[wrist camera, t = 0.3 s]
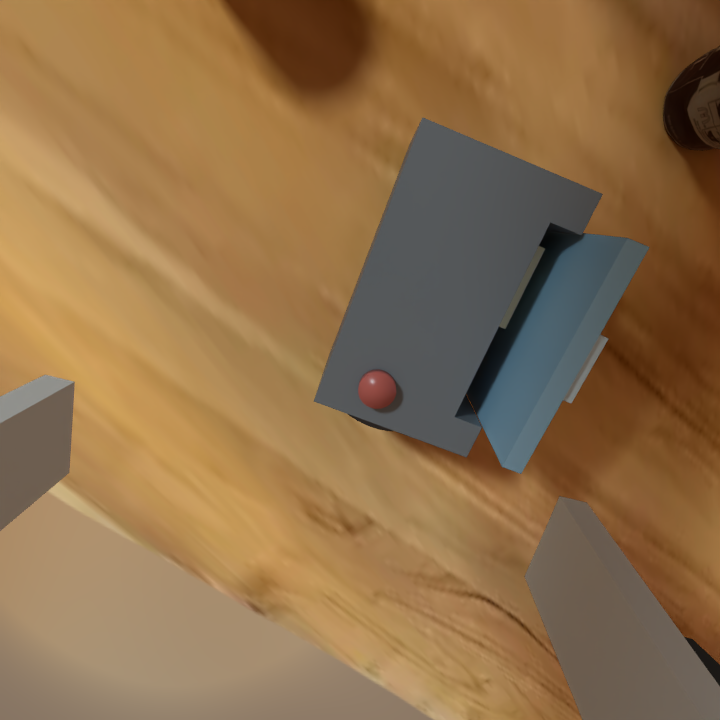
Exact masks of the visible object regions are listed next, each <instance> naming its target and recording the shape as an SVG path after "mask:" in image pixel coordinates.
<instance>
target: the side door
mask: <svg viewBox="0 0 720 720" xmlns="http://www.w3.org/2000/svg"><path fill="white" fill-rule="evenodd" d="M539 246H540V247H543V248H545V250H544V252H543V254H542V256H541V258H540V260H539V262H538V264H537V266H536V268H535V270H534V272H533V274H532V276H531V278H530V280H529V282H528V284H527V286H526V288H525V290H524V292H523V294H522V297H521V299H520V301H519V303H518V305H517V307H516V309H515V311H514V313H513V315H512V317H511V319H510V321H509V323H508V325H507V327H506V329H504V328H501V327H498V330H497V332H496V334H495V336H494V338H493V340H492V342H491V344H490V346H489V348H488V350H487V352H486V354H485V356H484V358H483V360H482V362H481V364H480V366H479V368H478V370H477V372H476V374H475V376H474V378H473V380H472V382H471V384H470V386H469V388H468V390H467V392H466V394H467V396H468V398H469V400H470V402H471V404H472V406H473V408H474V410H475V412H476V414H477V416H478V418H479V421H480V423H481V425H482V427H483V429H484V431H485V433H486V435H487V437H488V439H489V441H490V443H491V445H492V447H493V449H494V451H495V453H496V455H497V457H498V460H499V462H500V464H501V466H502V467H504V468H506V469H509V470H512V471H515V472H517V473H520V474H521V473H522V471H523V470H524V468H525V466H526V464H527V463H528V461H529V459H530V457H531V456H532V454H533V452H534V450H535V448H536V447H537V445H538V443H539V441H540V440H541V438H542V436H543V434H544V433H545V431H546V429H547V427H548V426H549V424H550V422H551V420H552V418H553V417H554V415H555V413H556V411H557V410H558V408H559V406H560V404H561V403H562V401H566V402H569V403H572V402H573V400H574V398H575V396H576V395H577V393H578V391H579V389H580V388H581V386H582V384H583V382H584V381H585V379H586V377H587V375H588V374H589V372H590V370H591V368H592V367H593V365H594V363H595V361H596V360H597V358H598V356H599V355H600V353H601V351H602V349H603V348H604V346H605V344H606V342H607V341H608V338H606V337H604V336H603V335H601V332H602V330H603V328H604V327H605V325H606V323H607V321H608V320H609V318H610V316H611V314H612V313H613V311H614V309H615V307H616V306H617V304H618V302H619V300H620V298H621V297H622V295H623V293H624V291H625V290H626V288H627V286H628V284H629V283H630V281H631V279H632V277H633V276H634V274H635V272H636V270H637V268H638V267H639V265H640V263H641V261H642V260H643V258H644V256H645V254H646V253H647V251H648V249H649V247H648V246H645V245H643V244H641V243H638V242H636V241H633V240H631V239H629V238H622V237H613V236H604V235H595V234H586V233H582V235H575V234H567V233H559V232H550V231H546V232H545V234H544V236H543V238H542V240H541V242H540V244H539Z"/></svg>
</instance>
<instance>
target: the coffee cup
mask: <svg viewBox="0 0 720 720" xmlns="http://www.w3.org/2000/svg"><path fill="white" fill-rule="evenodd" d="M663 120H664V124H665V127H666V130H667V132H668V133H669V135H670V136H671V137H672V138H673V140H674V141H675V142H676V143H677V144H678V145H680V146H682V147H684V148H688V149H691V150H708V149H714V148H717V149H720V46H719V47H718V48H716V49H713V50H711V51H709V52H707V53H706V54H704V55H703V56H701V57H700V58H698V59H697V60H696V61H694V62H693V63H692V64H690V65H689V66H688V67H687V68H685V69H684V70H683V71H682V72H681V73H680V74H679V75H678V77H677V78H676V79H675V80H674V82H673V83H672V85H671V86H670V88H669V90H668V91H667V93H666V96H665V101H664V112H663Z"/></svg>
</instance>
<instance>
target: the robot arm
mask: <svg viewBox="0 0 720 720" xmlns="http://www.w3.org/2000/svg"><path fill="white" fill-rule="evenodd" d="M74 383H75V382H73V381H69V380H65V379H61V378H56V377H52V376H48V375H44V376H42V377H40V378H38V379H36V380H33V381H31V382H29V383H27V384H25V385H23V386H21V387H19V388H17V389H15V390H13V391H11V392H9V393H7V394H5V395H3V396H1V397H0V531H1V530H2V529H3V528H4V527H5V526H7V525H8V524H9V523H10V522H11V521H13V520H14V519H15V518H16V517H17V516H18V515H20V514H21V513H22V512H23V511H24V510H26V509H27V508H28V507H29V506H30V505H32V504H33V503H34V502H35V501H36V500H37V499H39V498H40V497H41V496H42V495H43V494H45V493H46V492H47V491H48V490H49V489H51V488H52V487H53V486H54V485H55V484H56V483H58V482H59V481H60V480H61V479H62V478H64V477H65V476H66V475H67V474H68V473H69V468H70V451H71V434H72V417H73V400H74ZM525 579H526V581H527V584H528V586H529V589H530V591H531V594H532V596H533V599H534V601H535V604H536V606H537V609H538V611H539V613H540V616H541V618H542V621H543V623H544V626H545V628H546V631H547V633H548V636H549V638H550V641H551V643H552V646H553V648H554V651H555V653H556V655H557V658H558V660H559V663H560V665H561V668H562V670H563V673H564V675H565V678H566V680H567V683H568V685H569V688H570V690H571V693H572V695H573V697H574V700H575V702H576V705H577V707H578V710H579V712H580V715H581V717H582V720H720V665H719V664H718V663H717V662H716V661H715V660H714V659H713V658H712V657H711V656H710V655H709V654H708V653H707V652H706V651H705V650H703V649H702V648H701V647H700V646H699V645H698V644H697V643H696V642H695V641H694V640H693V639H690V638H686V637H684V636H683V635H682V634H681V632H680V631H679V629H678V628H677V627H676V625H675V624H674V623H673V621H672V620H671V618H670V617H669V616H668V614H667V613H666V611H665V610H664V609H663V607H662V606H661V605H660V603H659V602H658V600H657V599H656V598H655V596H654V595H653V593H652V592H651V591H650V589H649V588H648V587H647V585H646V584H645V582H644V581H643V580H642V578H641V577H640V575H639V574H638V573H637V571H636V570H635V569H634V567H633V566H632V564H631V563H630V562H629V560H628V559H627V558H626V556H625V555H624V553H623V552H622V551H621V549H620V548H619V546H618V545H617V544H616V542H615V541H614V540H613V538H612V537H611V535H610V534H609V533H608V531H607V530H606V528H605V527H604V526H603V524H602V523H601V522H600V520H599V519H598V517H597V516H596V515H595V513H594V512H593V511H592V509H591V508H590V506H589V505H588V504H587V502H582V501H578V500H574V499H570V498H565V497H561V496H559V499H558V501H557V503H556V506H555V508H554V510H553V512H552V515H551V517H550V519H549V522H548V524H547V526H546V529H545V531H544V533H543V535H542V538H541V540H540V542H539V545H538V547H537V549H536V552H535V554H534V556H533V558H532V561H531V563H530V565H529V568H528V570H527V572H526V575H525Z"/></svg>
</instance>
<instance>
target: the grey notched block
mask: <svg viewBox="0 0 720 720" xmlns="http://www.w3.org/2000/svg"><path fill="white" fill-rule="evenodd" d="M602 195H603V194H601V193H599V192H597V191H594V190H592V189H590V188H587V187H585V186H582V185H580V184H578V183H575V182H573V181H571V180H568V179H566V178H564V177H561V176H559V175H557V174H554V173H552V172H550V171H547V170H545V169H543V168H540V167H538V166H535V165H533V164H531V163H528V162H526V161H524V160H521V159H519V158H517V157H514V156H512V155H510V154H507V153H505V152H503V151H500V150H498V149H496V148H493V147H491V146H488V145H486V144H484V143H481V142H479V141H477V140H474V139H472V138H470V137H467V136H465V135H463V134H460V133H458V132H456V131H453V130H451V129H449V128H446V127H444V126H441V125H439V124H437V123H434V122H432V121H430V120H427V119H425V118H422V120H421V122H420V124H419V126H418V128H417V130H416V132H415V134H414V136H413V138H412V140H411V143H410V145H409V148H408V150H407V153H406V156H405V158H404V161H403V163H402V166H401V169H400V171H399V174H398V176H397V179H396V182H395V184H394V187H393V190H392V192H391V195H390V197H389V200H388V203H387V205H386V208H385V210H384V213H383V216H382V218H381V221H380V224H379V226H378V229H377V231H376V234H375V237H374V239H373V242H372V245H371V247H370V250H369V252H368V255H367V258H366V260H365V263H364V265H363V268H362V271H361V273H360V276H359V279H358V281H357V284H356V286H355V289H354V292H353V294H352V297H351V299H350V302H349V305H348V307H347V310H346V313H345V315H344V318H343V320H342V323H341V326H340V328H339V331H338V333H337V336H336V339H335V341H334V344H333V347H332V349H331V352H330V354H329V357H328V360H327V363H326V366H325V369H324V372H323V375H322V378H321V381H320V384H319V387H318V390H317V393H316V396H315V399H314V402H317V403H320V404H323V405H325V406H328V407H331V408H333V409H336V410H339V411H342V412H344V413H347V414H348V415H350V416H351V417H352V418H354V419H356V420H357V421H359V422H361V423H363V424H366V425H368V426H370V427H373V428H377V429H381V430H386V431H396V432H399V433H402V434H404V435H407V436H410V437H412V438H415V439H418V440H421V441H423V442H426V443H429V444H431V445H434V446H437V447H440V448H442V449H445V450H448V451H451V452H453V453H456V454H459V455H461V456H464V457H467V456H468V454H469V452H470V450H471V448H472V446H473V444H474V442H475V440H476V438H477V436H478V434H479V432H480V430H481V428H482V426H481V424H480V422H479V420H478V418H477V416H476V414H475V412H474V410H473V408H472V406H471V404H470V402H469V400H468V397H467V395H466V392H467V390H468V388H469V386H470V384H471V382H472V380H473V378H474V376H475V374H476V372H477V370H478V368H479V366H480V364H481V362H482V360H483V358H484V356H485V354H486V352H487V350H488V348H489V346H490V344H491V342H492V340H493V338H494V336H495V334H496V332H497V330H498V327H501V328H504V329H506V327H507V325H508V323H509V321H510V319H511V317H512V315H513V313H514V311H515V309H516V307H517V305H518V303H519V301H520V299H521V297H522V294H523V292H524V290H525V288H526V286H527V284H528V282H529V280H530V278H531V276H532V274H533V272H534V270H535V268H536V266H537V264H538V262H539V260H540V258H541V256H542V254H543V252H544V250H545V248H543V247H540V246H539V244H540V242H541V240H542V238H543V236H544V234H545V232H546V231H550V232H559V233H567V234H575V235H582V233H583V231H584V229H585V228H586V226H587V224H588V222H589V220H590V218H591V216H592V214H593V212H594V210H595V208H596V206H597V204H598V202H599V201H600V199H601V197H602Z"/></svg>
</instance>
